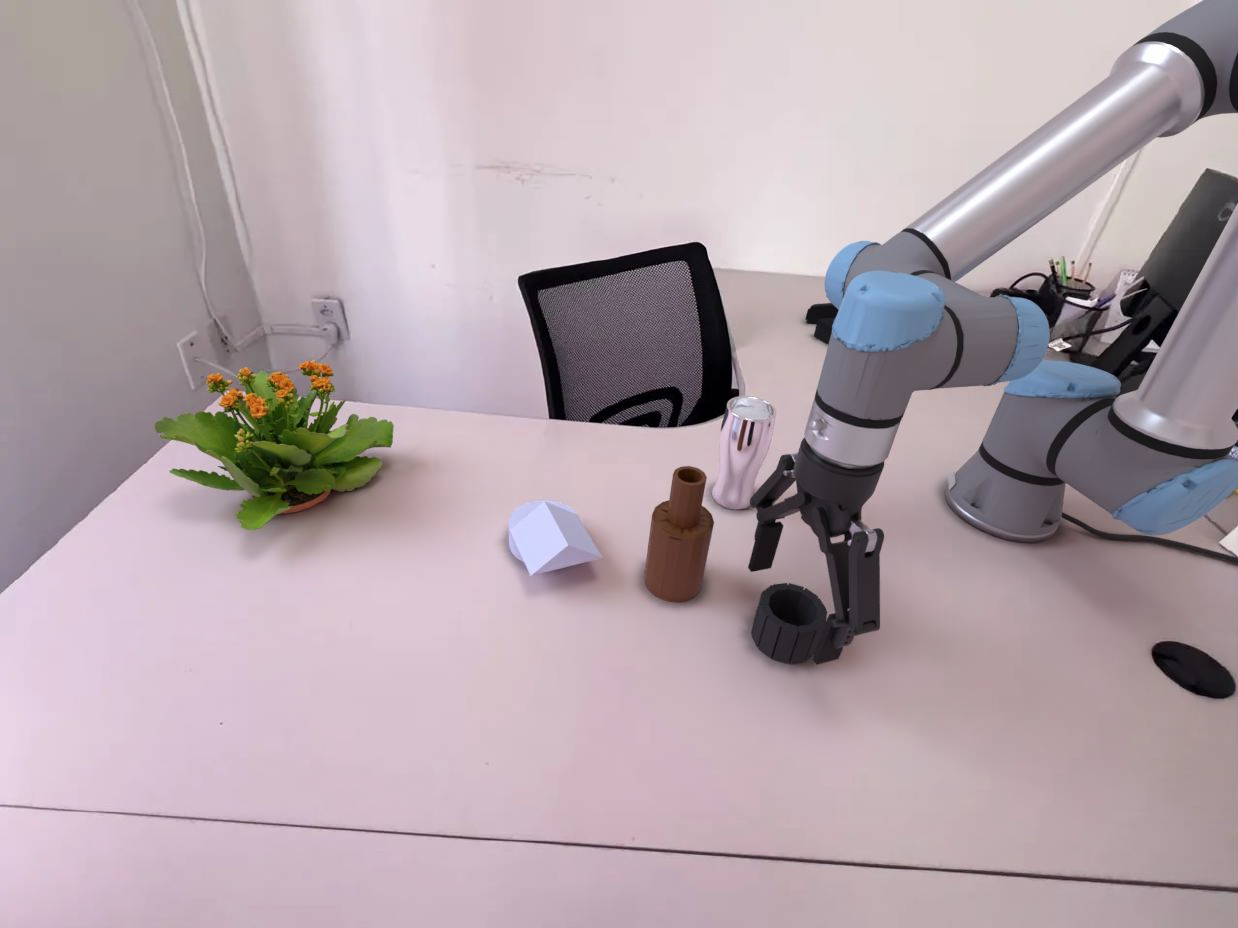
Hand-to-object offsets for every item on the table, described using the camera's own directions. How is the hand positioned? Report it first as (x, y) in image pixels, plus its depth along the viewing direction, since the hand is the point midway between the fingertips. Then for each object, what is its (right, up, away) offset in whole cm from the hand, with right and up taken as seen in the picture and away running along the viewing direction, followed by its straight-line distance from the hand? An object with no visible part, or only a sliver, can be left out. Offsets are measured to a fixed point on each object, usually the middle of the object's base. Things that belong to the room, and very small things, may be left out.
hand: (789, 610), depth 71 cm
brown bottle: (-12, +2, +9) cm, 15 cm away
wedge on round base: (-28, +5, +12) cm, 30 cm away
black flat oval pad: (+45, +46, +80) cm, 102 cm away
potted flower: (-64, +12, +17) cm, 67 cm away
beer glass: (-2, +11, +24) cm, 27 cm away
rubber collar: (0, -4, +3) cm, 5 cm away
